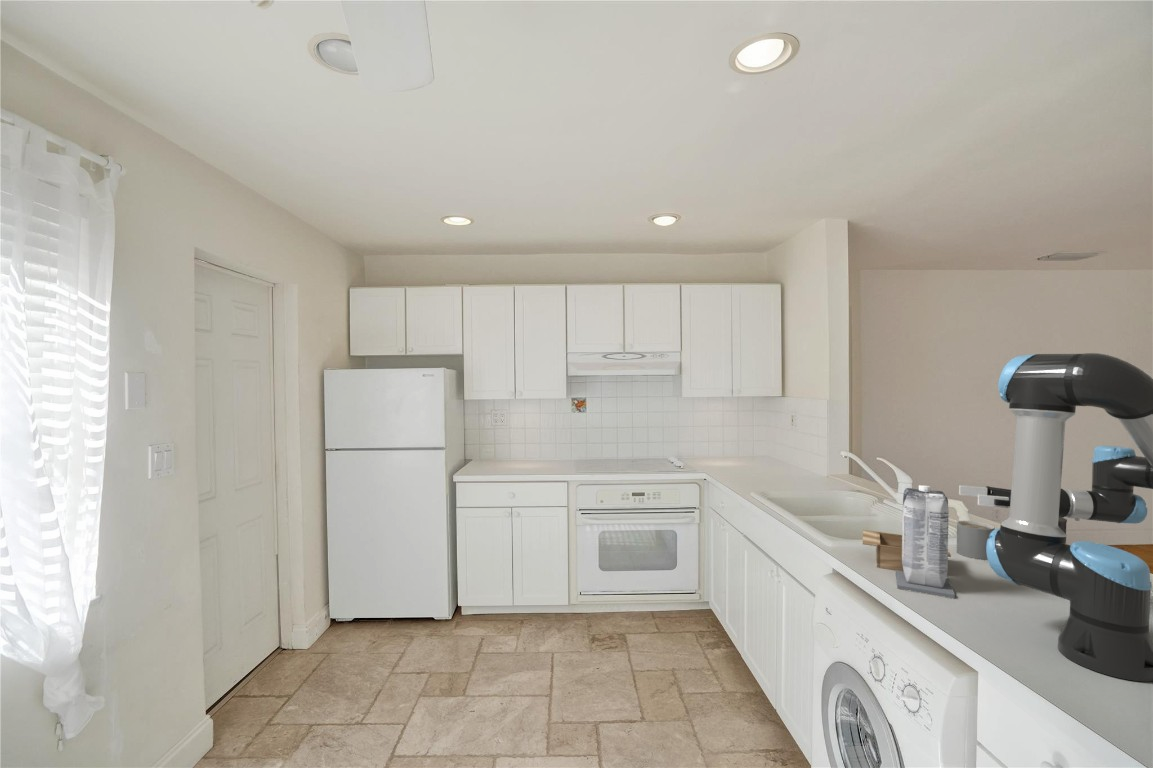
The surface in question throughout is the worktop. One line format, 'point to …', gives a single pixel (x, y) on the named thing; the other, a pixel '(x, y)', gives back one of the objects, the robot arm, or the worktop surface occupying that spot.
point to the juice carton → (925, 536)
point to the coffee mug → (973, 539)
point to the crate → (886, 549)
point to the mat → (924, 586)
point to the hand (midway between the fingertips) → (968, 494)
